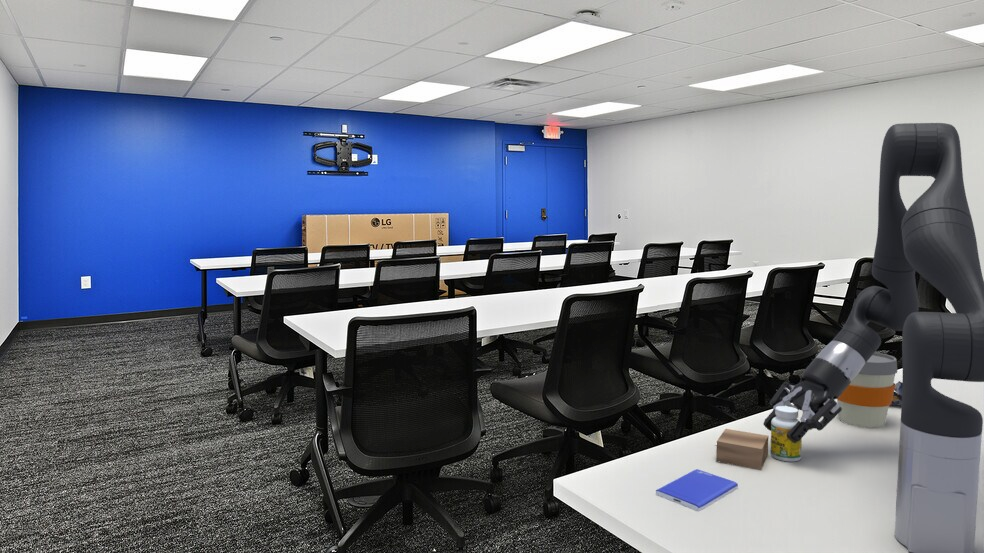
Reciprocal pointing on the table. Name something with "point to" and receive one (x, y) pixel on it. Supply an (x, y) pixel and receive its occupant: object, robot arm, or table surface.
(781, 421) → the supplement bottle
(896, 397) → the snack package
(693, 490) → the hard drive
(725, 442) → the walnut base block
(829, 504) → the table surface
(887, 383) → the reusable coffee cup
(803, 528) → the table surface
